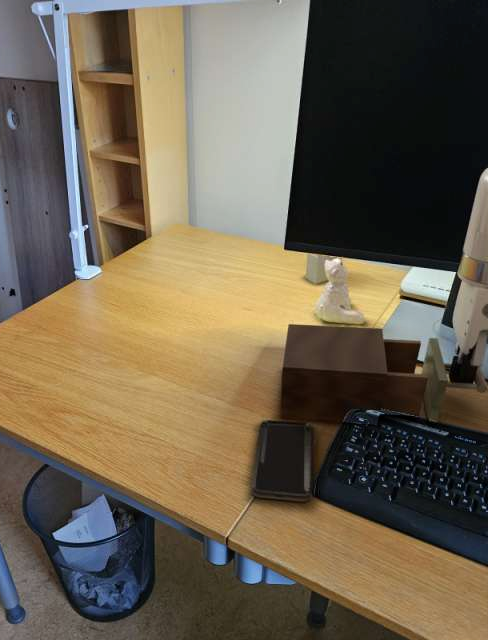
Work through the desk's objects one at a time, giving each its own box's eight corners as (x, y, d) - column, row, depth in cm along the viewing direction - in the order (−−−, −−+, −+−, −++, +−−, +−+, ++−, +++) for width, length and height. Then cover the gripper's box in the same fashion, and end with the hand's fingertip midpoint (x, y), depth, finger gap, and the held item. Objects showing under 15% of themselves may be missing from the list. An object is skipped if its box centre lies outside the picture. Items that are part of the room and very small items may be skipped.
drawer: (468, 382, 90) (481, 340, 85) (482, 427, 81) (497, 383, 76) (342, 373, 94) (347, 333, 89) (342, 416, 85) (347, 373, 80)
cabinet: (374, 378, 94) (382, 328, 88) (377, 426, 84) (387, 373, 78) (286, 372, 97) (288, 323, 91) (279, 418, 87) (282, 366, 81)
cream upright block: (340, 276, 125) (344, 232, 119) (315, 283, 123) (319, 239, 117) (329, 270, 128) (333, 227, 122) (305, 278, 125) (308, 234, 119)
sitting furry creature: (366, 325, 107) (375, 266, 100) (323, 331, 107) (328, 272, 99) (347, 303, 115) (354, 247, 108) (307, 308, 114) (311, 252, 107)
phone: (313, 423, 83) (311, 497, 72) (312, 429, 84) (310, 503, 72) (260, 419, 85) (250, 491, 73) (260, 425, 86) (250, 497, 74)
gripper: (539, 293, 66) (498, 414, 77) (509, 244, 77) (477, 356, 88) (470, 291, 67) (440, 410, 78) (451, 243, 79) (427, 353, 90)
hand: (460, 381), depth 83 cm, fingers closed
